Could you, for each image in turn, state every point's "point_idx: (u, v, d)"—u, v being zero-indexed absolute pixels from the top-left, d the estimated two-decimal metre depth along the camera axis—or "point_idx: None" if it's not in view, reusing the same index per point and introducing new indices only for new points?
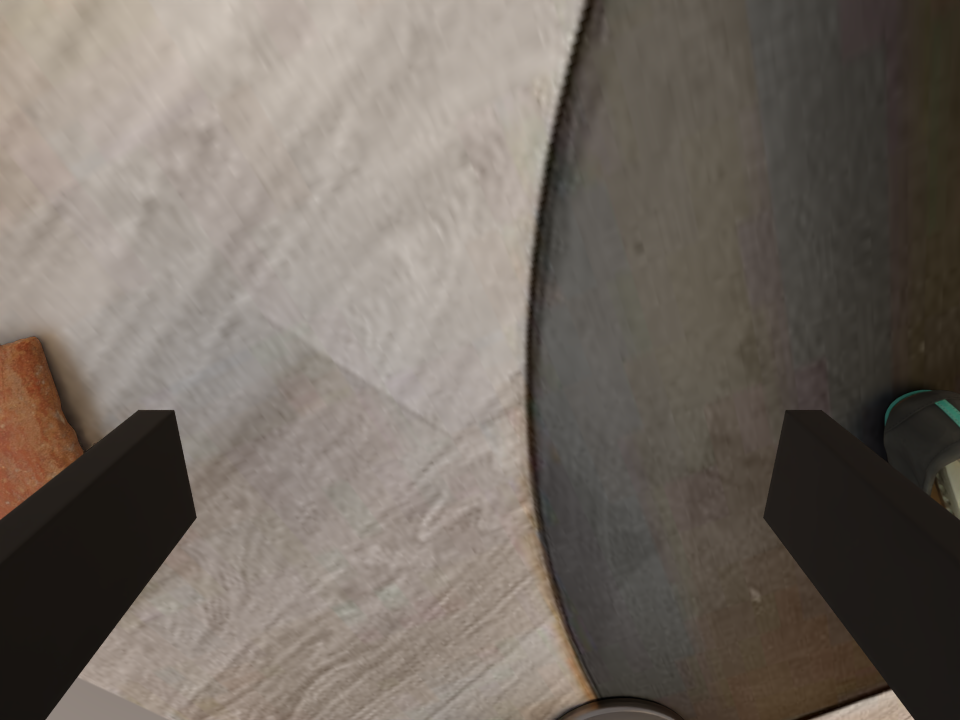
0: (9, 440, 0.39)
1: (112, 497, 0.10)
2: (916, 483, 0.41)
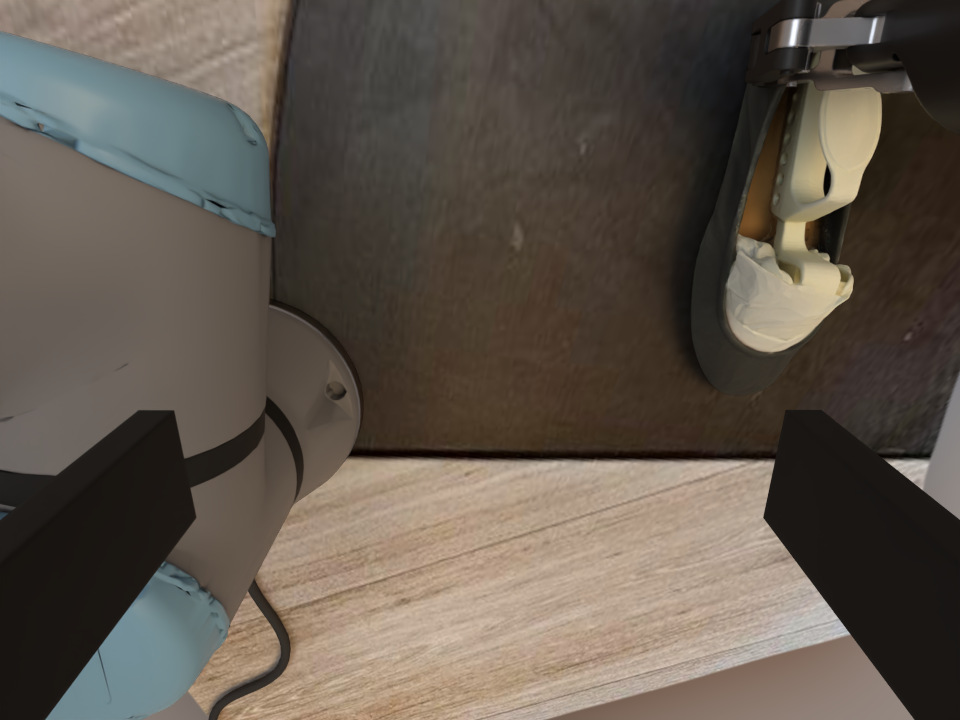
0: None
1: (112, 497, 0.10)
2: (765, 103, 0.32)
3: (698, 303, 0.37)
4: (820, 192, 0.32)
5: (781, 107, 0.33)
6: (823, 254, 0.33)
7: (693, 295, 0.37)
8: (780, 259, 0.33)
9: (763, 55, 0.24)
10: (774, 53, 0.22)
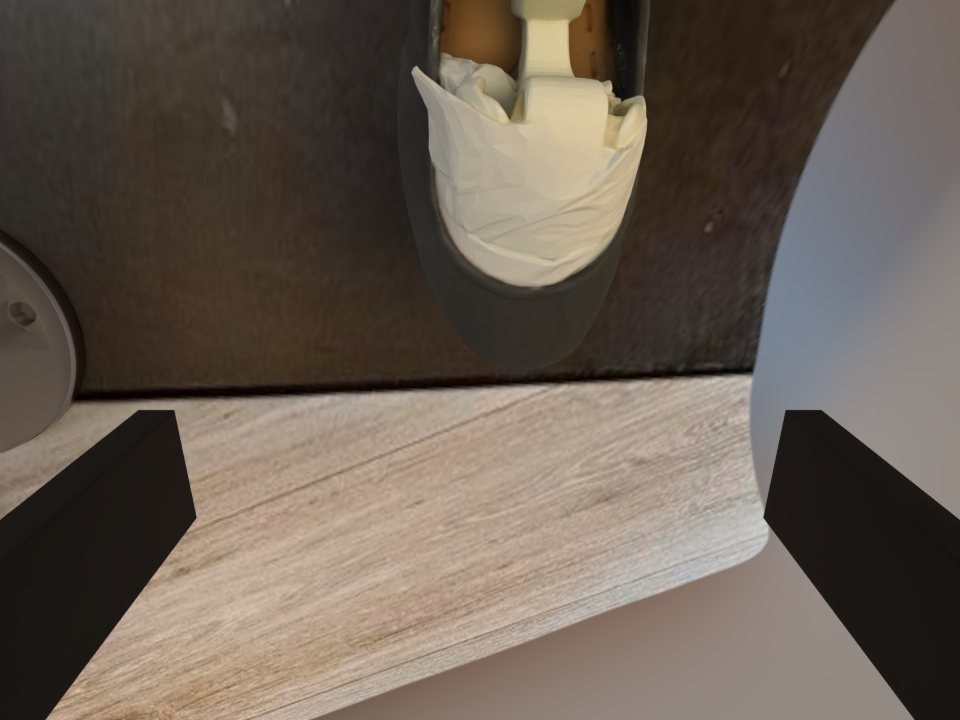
0: None
1: (112, 497, 0.10)
2: None
3: (411, 205, 0.20)
4: None
5: None
6: (603, 83, 0.17)
7: (404, 191, 0.20)
8: (518, 93, 0.17)
9: None
10: None
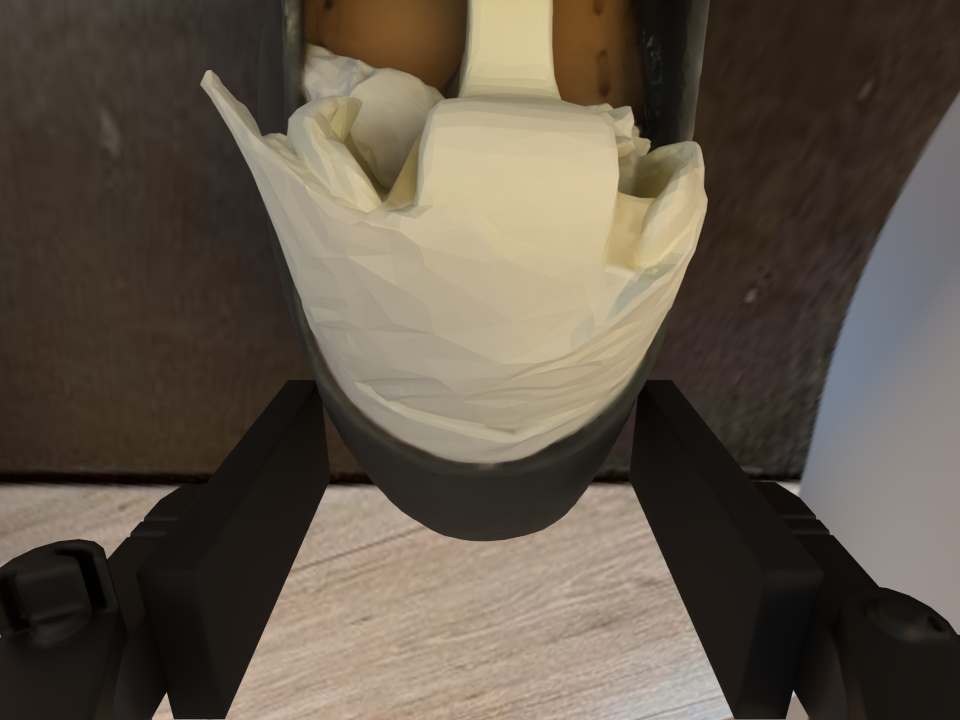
0: None
1: (291, 451, 0.12)
2: None
3: (287, 303, 0.12)
4: None
5: None
6: (616, 110, 0.08)
7: (280, 279, 0.12)
8: None
9: None
10: None
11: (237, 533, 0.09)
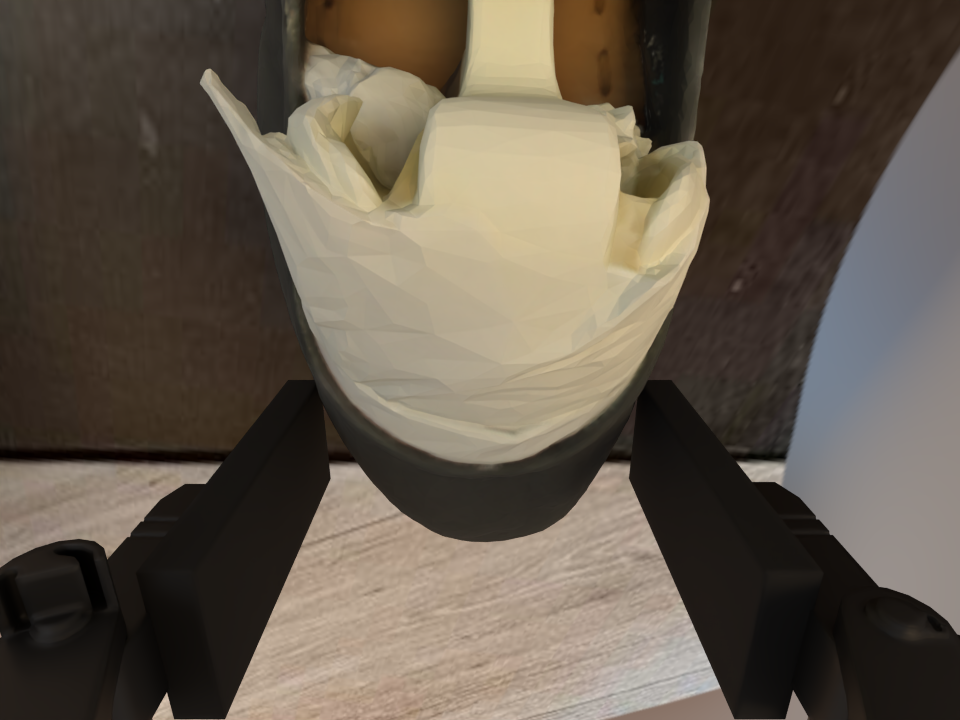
0: None
1: (291, 451, 0.12)
2: None
3: (287, 303, 0.12)
4: None
5: None
6: (618, 110, 0.08)
7: (279, 279, 0.12)
8: None
9: None
10: None
11: (238, 533, 0.09)
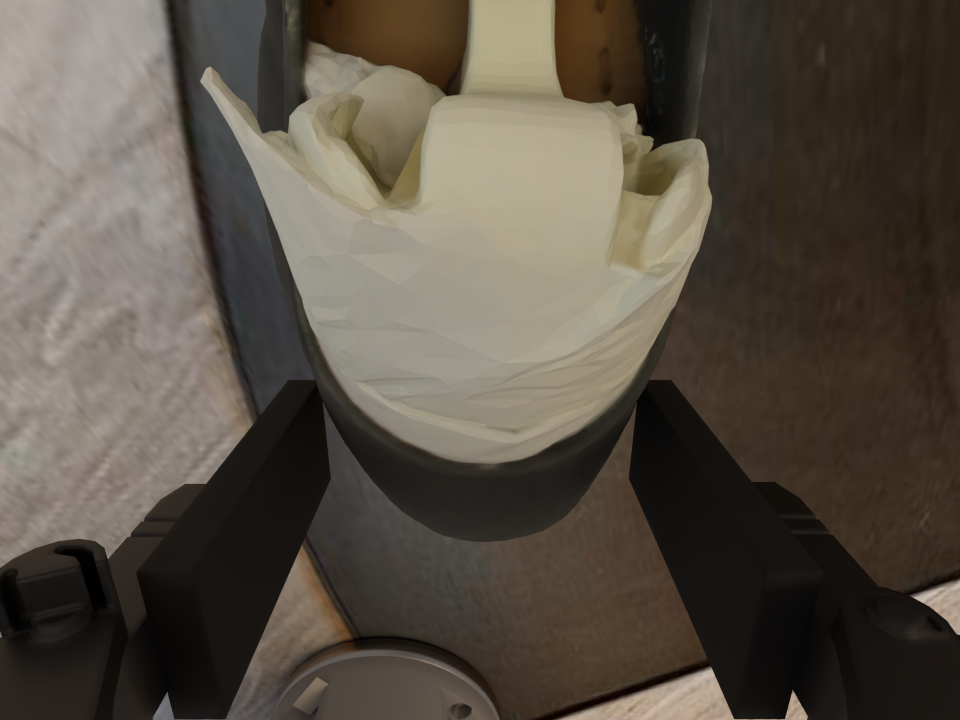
0: None
1: (292, 451, 0.12)
2: None
3: (288, 303, 0.12)
4: None
5: None
6: (619, 108, 0.08)
7: (280, 278, 0.12)
8: None
9: None
10: None
11: (238, 533, 0.09)
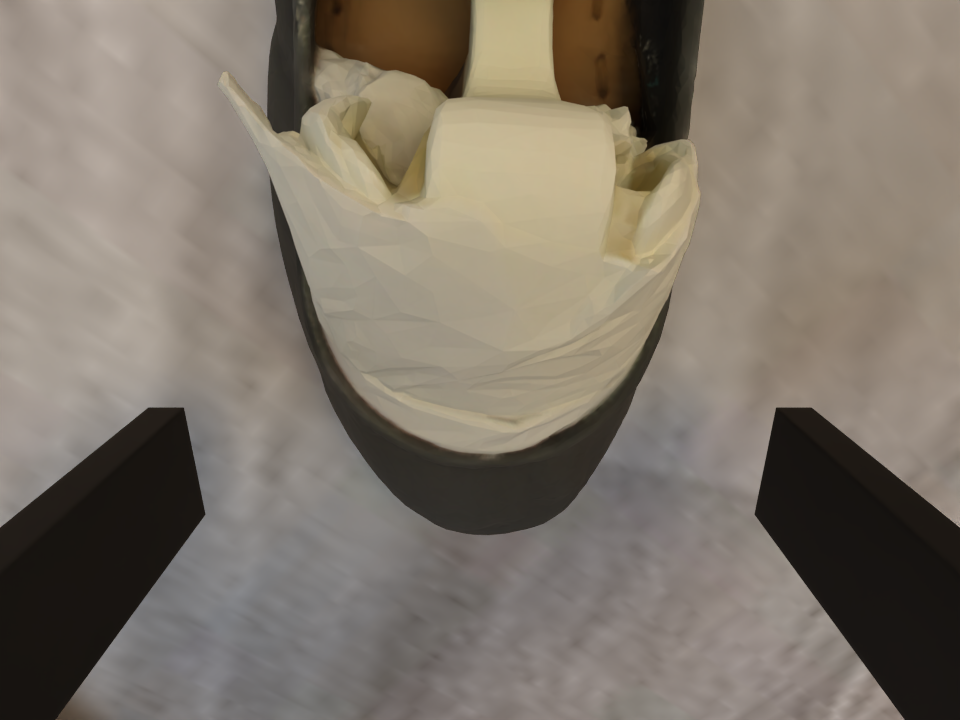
0: None
1: (124, 494, 0.10)
2: None
3: (295, 299, 0.12)
4: None
5: None
6: (614, 111, 0.09)
7: None
8: None
9: None
10: None
11: (3, 606, 0.08)
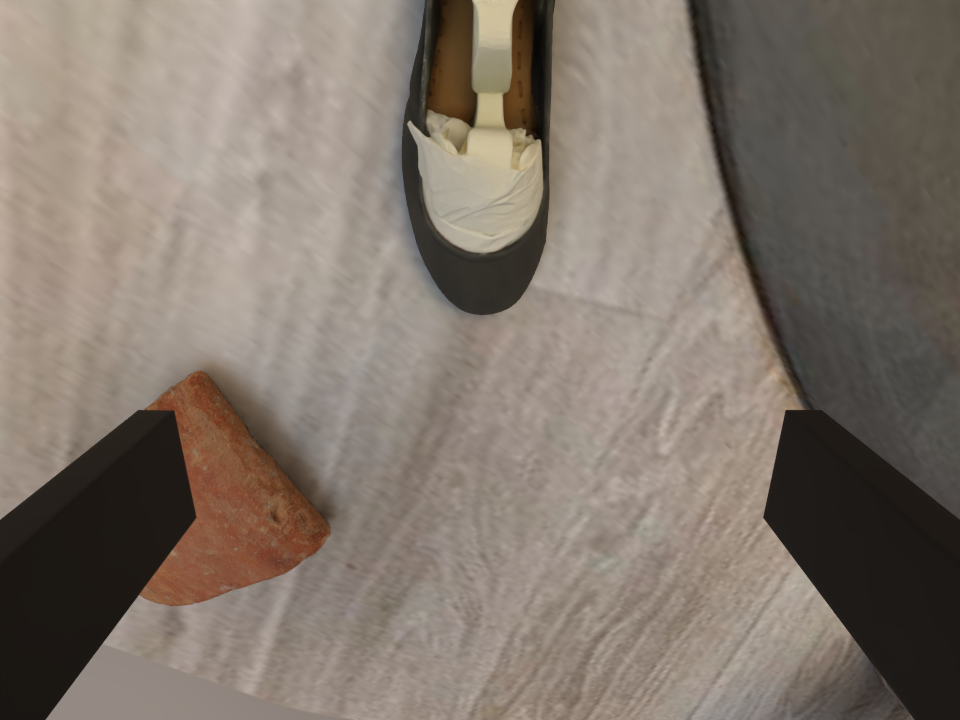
0: (216, 481, 0.36)
1: (112, 497, 0.10)
2: None
3: (409, 200, 0.32)
4: None
5: None
6: (521, 130, 0.28)
7: (405, 192, 0.32)
8: None
9: None
10: None
11: None
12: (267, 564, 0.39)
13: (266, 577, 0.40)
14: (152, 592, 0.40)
